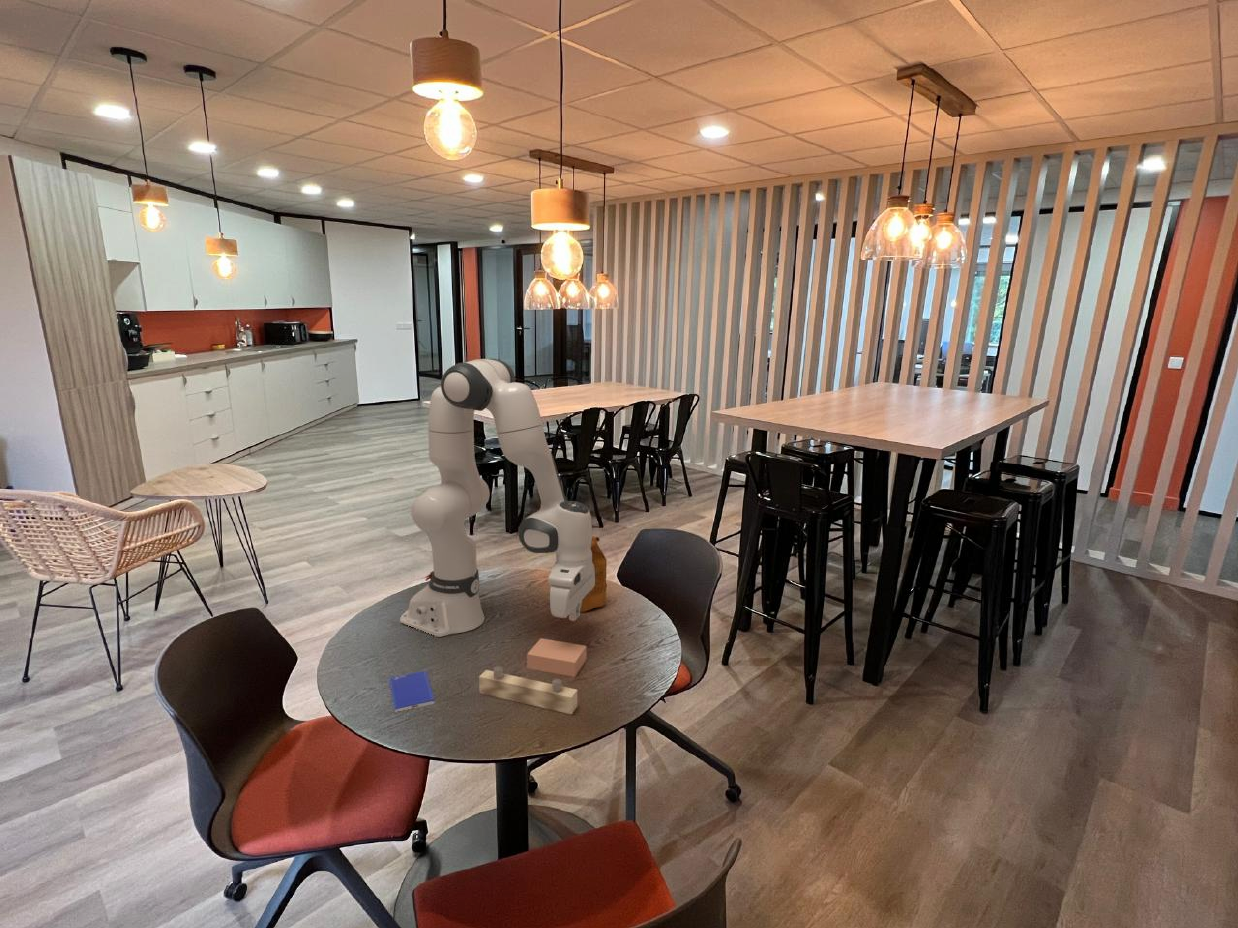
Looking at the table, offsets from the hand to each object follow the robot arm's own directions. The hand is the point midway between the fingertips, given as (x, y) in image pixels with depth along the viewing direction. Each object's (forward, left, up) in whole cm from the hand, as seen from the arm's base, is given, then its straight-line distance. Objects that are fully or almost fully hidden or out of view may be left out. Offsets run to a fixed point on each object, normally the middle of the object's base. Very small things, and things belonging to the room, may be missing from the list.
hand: (574, 618), depth 159 cm
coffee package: (-6, +23, -7) cm, 25 cm away
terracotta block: (0, -10, -8) cm, 13 cm away
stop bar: (0, -26, -7) cm, 26 cm away
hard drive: (-25, -32, -8) cm, 42 cm away
